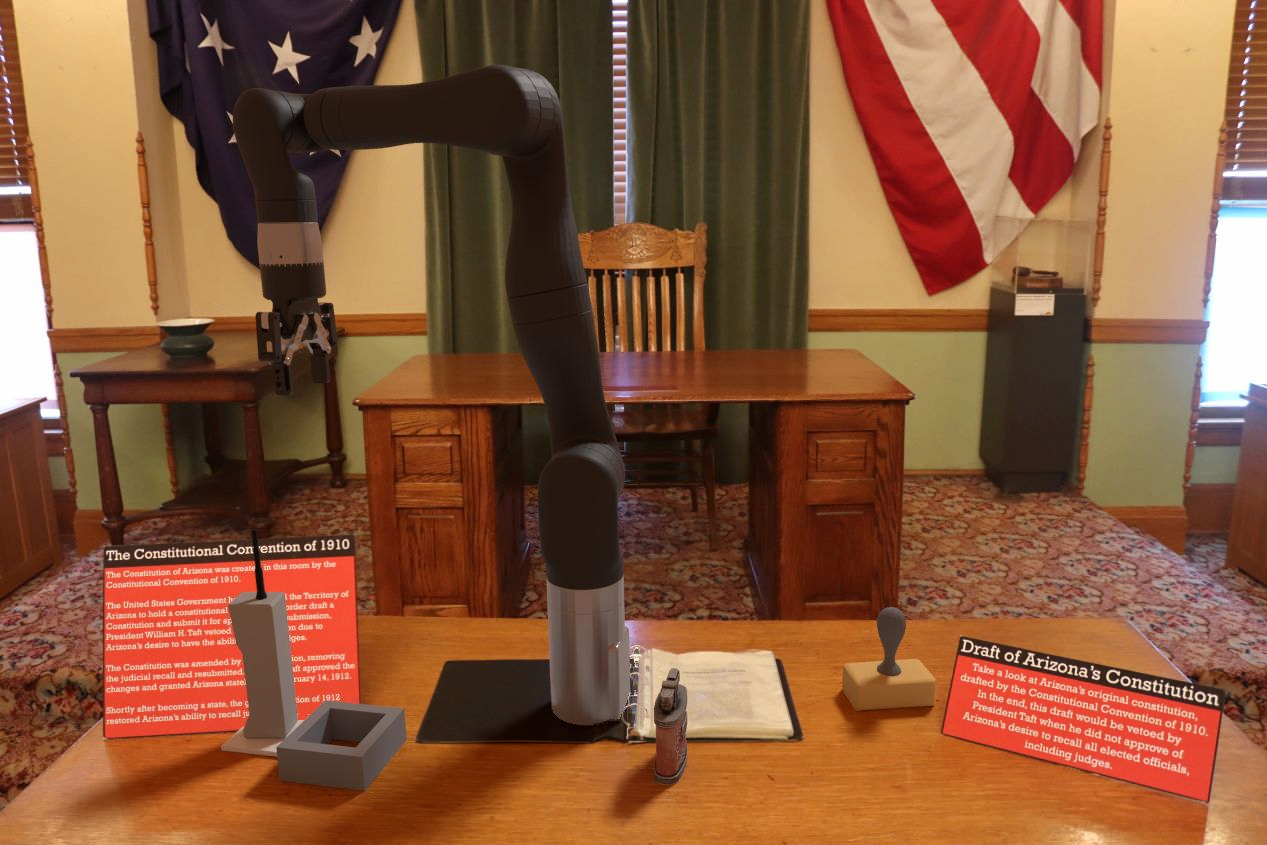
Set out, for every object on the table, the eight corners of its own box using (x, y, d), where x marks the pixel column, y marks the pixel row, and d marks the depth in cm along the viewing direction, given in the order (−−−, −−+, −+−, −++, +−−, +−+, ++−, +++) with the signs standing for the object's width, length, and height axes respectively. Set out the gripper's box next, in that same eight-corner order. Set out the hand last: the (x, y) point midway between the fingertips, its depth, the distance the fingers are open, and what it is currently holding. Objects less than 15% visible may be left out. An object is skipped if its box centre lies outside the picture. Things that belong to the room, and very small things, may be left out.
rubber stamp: (916, 684, 118) (921, 596, 116) (935, 707, 113) (941, 615, 110) (841, 689, 117) (844, 600, 115) (856, 712, 112) (860, 620, 109)
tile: (322, 720, 112) (321, 716, 112) (284, 757, 104) (283, 752, 104) (263, 714, 113) (262, 709, 113) (221, 750, 106) (221, 745, 106)
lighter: (680, 786, 98) (680, 700, 95) (649, 783, 98) (648, 697, 96) (691, 744, 105) (691, 664, 103) (662, 742, 106) (661, 661, 104)
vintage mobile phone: (257, 722, 110) (234, 523, 105) (298, 722, 110) (277, 522, 105) (243, 739, 107) (218, 534, 101) (286, 739, 107) (263, 534, 101)
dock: (406, 739, 107) (404, 708, 106) (364, 790, 98) (361, 757, 97) (328, 731, 109) (325, 700, 108) (279, 780, 100) (276, 747, 99)
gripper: (286, 262, 107) (299, 400, 111) (348, 257, 121) (358, 379, 124) (228, 263, 109) (243, 398, 112) (296, 257, 122) (307, 378, 126)
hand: (303, 388), depth 118 cm, fingers open, 8 cm apart
